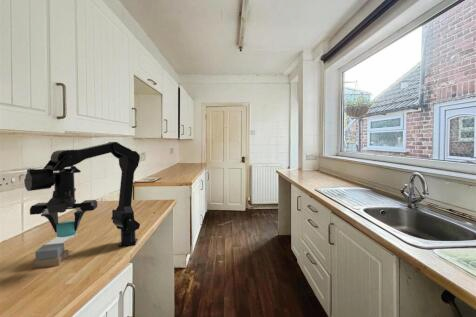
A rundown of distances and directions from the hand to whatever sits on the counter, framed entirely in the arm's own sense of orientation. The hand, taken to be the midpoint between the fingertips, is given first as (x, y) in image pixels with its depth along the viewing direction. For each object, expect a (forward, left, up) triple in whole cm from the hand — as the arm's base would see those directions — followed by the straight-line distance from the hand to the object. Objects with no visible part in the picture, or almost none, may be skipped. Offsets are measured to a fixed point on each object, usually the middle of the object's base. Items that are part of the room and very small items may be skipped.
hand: (66, 231), depth 88 cm
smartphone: (-29, -13, -13) cm, 34 cm away
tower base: (-5, -7, -13) cm, 15 cm away
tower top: (-5, -7, -10) cm, 13 cm away
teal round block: (0, 0, -1) cm, 1 cm away
